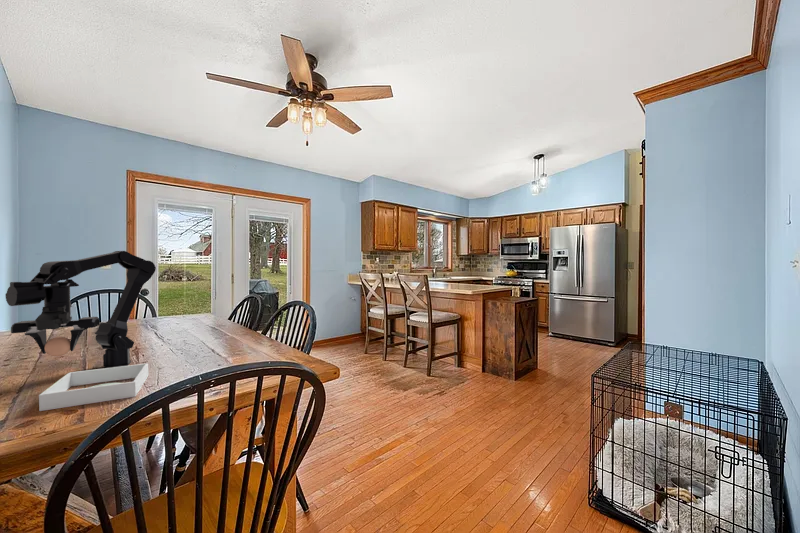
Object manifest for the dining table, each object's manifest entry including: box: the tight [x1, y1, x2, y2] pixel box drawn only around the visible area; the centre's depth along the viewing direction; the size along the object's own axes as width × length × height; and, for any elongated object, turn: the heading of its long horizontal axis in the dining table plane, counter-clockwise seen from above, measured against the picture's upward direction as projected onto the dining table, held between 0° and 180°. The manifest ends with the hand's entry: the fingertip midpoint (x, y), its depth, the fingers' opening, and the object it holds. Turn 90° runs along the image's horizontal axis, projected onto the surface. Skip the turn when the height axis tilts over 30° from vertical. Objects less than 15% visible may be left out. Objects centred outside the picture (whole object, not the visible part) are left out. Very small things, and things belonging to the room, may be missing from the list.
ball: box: [44, 336, 71, 358], centre depth 106 cm, size 6×6×6 cm
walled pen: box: [38, 362, 149, 412], centre depth 98 cm, size 19×19×4 cm
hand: (58, 352), depth 106 cm, fingers closed on ball, 6 cm apart
